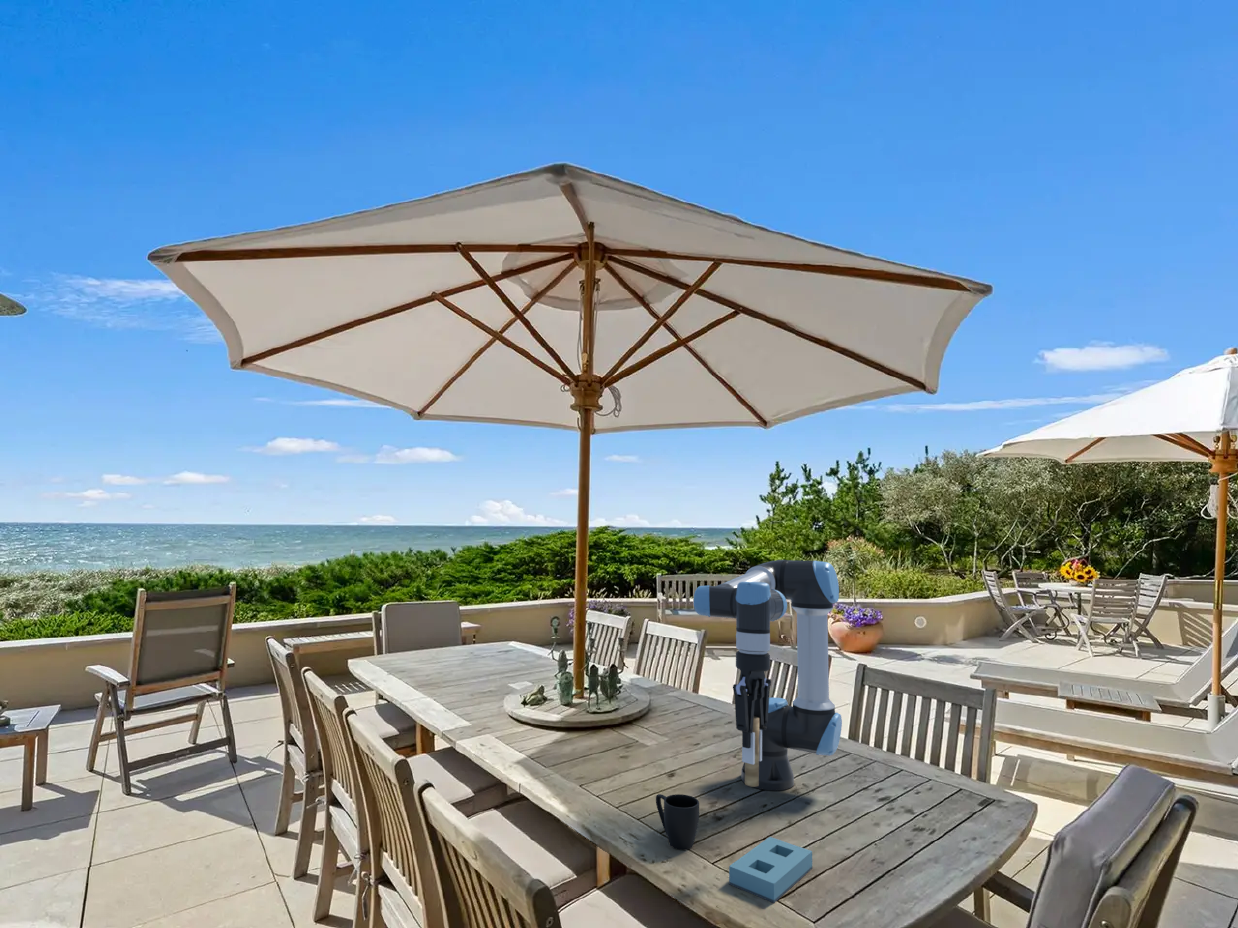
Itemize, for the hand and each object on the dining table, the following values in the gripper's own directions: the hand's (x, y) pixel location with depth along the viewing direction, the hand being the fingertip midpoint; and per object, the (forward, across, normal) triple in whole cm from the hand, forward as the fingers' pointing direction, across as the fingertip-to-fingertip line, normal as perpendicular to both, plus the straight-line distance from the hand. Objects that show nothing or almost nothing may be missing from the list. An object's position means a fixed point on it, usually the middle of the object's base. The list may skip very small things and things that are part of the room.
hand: (752, 760), depth 141 cm
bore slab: (+22, 0, +5) cm, 22 cm away
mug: (+22, +2, -19) cm, 29 cm away
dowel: (+5, 0, 0) cm, 5 cm away
